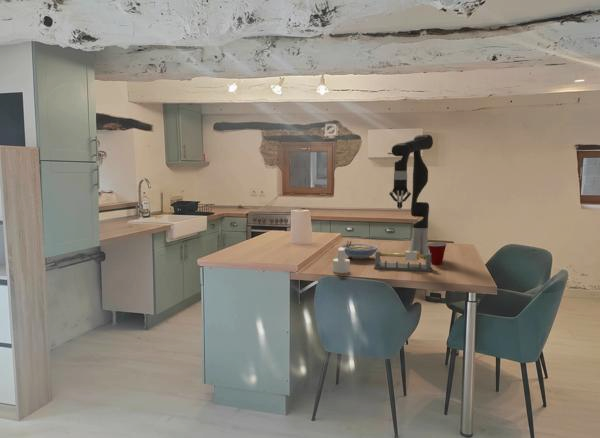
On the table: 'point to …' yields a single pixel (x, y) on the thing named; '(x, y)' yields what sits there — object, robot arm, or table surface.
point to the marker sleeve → (411, 253)
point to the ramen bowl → (359, 250)
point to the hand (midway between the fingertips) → (399, 208)
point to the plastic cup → (437, 252)
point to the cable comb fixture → (403, 266)
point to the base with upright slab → (341, 262)
